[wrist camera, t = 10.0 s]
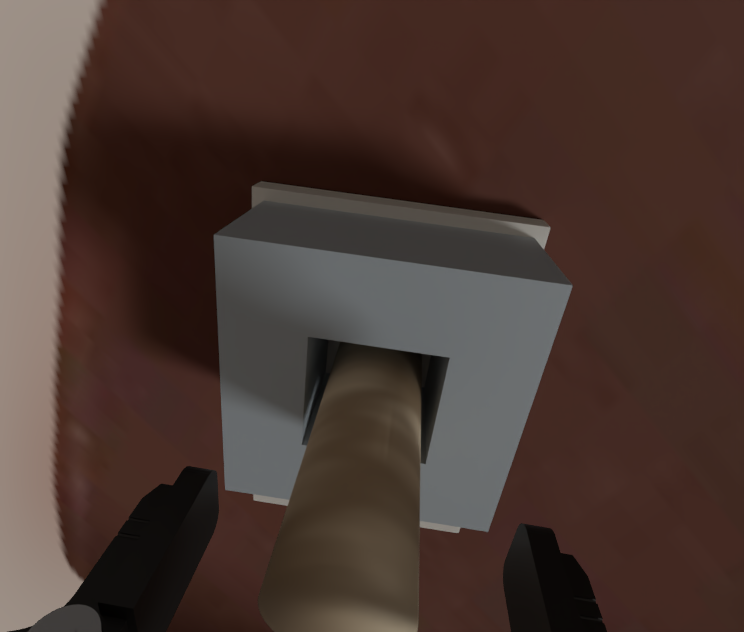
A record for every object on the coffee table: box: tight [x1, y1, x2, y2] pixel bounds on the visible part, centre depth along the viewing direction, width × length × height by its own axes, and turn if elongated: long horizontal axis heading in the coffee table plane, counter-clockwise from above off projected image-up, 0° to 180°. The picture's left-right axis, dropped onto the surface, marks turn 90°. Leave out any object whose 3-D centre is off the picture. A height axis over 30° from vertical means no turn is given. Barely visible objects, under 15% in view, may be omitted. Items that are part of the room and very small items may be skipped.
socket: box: [214, 181, 573, 533], centre depth 20 cm, size 12×18×6 cm, turn 173°
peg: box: [258, 342, 422, 632], centre depth 15 cm, size 4×4×12 cm
